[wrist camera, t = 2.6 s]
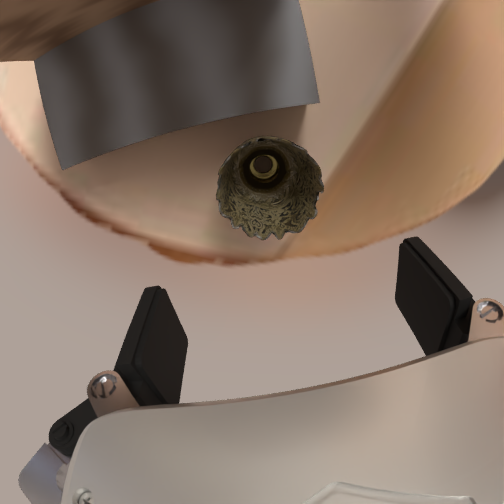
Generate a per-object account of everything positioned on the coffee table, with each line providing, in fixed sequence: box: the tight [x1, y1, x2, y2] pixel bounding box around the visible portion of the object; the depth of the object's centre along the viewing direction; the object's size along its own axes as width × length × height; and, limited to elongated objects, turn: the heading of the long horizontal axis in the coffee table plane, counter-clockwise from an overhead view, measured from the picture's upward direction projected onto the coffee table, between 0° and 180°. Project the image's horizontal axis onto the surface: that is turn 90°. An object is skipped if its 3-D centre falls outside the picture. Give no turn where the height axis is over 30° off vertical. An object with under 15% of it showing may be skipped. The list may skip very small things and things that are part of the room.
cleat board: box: [0, 0, 320, 170], centre depth 14 cm, size 22×12×18 cm, turn 101°
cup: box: [216, 136, 324, 240], centre depth 24 cm, size 8×7×8 cm
